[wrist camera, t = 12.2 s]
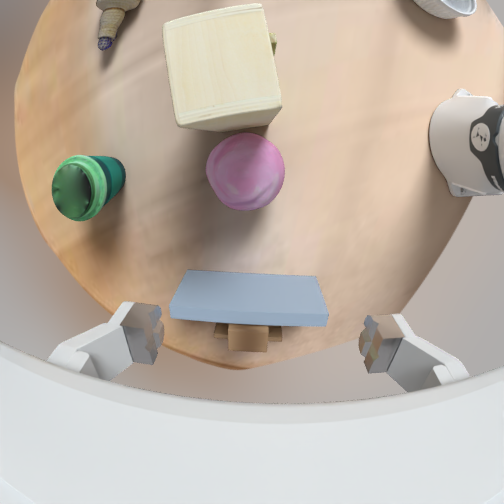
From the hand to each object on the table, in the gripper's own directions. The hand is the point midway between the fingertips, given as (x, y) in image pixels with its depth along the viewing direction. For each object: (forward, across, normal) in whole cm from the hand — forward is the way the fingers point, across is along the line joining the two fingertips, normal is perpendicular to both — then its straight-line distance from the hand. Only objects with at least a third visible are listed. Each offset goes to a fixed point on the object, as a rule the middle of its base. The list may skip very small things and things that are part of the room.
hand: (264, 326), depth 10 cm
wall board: (+29, +1, +17) cm, 34 cm away
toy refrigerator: (+29, +3, -12) cm, 32 cm away
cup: (+29, +22, -2) cm, 37 cm away
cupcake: (+29, +2, -3) cm, 30 cm away
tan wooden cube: (+25, +1, +17) cm, 30 cm away
